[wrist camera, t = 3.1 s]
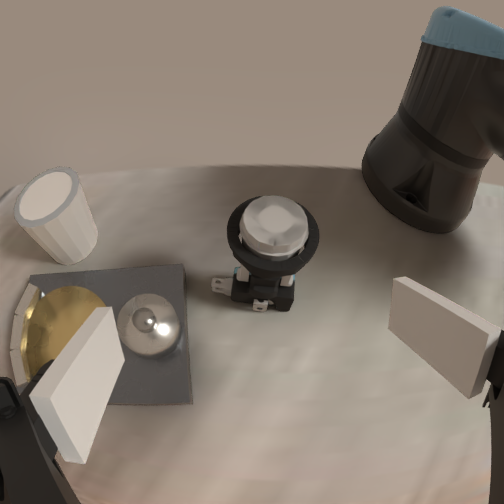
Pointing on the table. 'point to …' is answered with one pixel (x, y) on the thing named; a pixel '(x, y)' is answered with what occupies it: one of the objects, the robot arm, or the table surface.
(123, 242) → the table surface
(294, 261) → the push button
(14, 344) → the carrier plate
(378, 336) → the table surface
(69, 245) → the white tapered cup
